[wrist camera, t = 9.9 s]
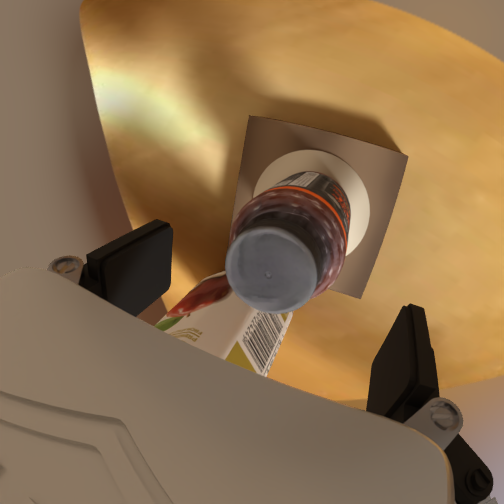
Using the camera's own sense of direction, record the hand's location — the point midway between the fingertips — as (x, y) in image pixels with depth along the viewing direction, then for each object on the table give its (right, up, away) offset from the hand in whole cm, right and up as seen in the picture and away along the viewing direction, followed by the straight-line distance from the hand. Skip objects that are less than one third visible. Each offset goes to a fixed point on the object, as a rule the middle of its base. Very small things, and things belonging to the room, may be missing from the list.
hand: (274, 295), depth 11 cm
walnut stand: (+4, +6, +14) cm, 16 cm away
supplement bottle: (+4, +5, +11) cm, 13 cm away
